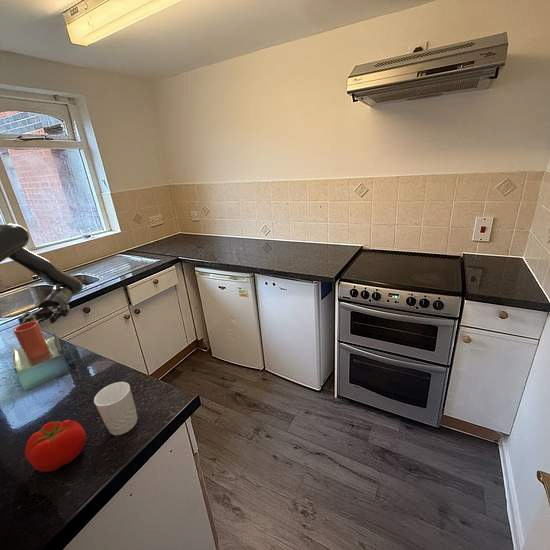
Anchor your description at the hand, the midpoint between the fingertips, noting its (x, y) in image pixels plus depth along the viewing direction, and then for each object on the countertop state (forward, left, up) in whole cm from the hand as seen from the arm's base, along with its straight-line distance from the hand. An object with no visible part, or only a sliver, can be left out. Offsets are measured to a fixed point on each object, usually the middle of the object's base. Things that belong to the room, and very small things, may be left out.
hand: (37, 323), depth 100 cm
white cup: (+29, -42, -15) cm, 53 cm away
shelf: (0, -6, -15) cm, 16 cm away
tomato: (+17, -47, -15) cm, 52 cm away
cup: (0, -6, -8) cm, 10 cm away
